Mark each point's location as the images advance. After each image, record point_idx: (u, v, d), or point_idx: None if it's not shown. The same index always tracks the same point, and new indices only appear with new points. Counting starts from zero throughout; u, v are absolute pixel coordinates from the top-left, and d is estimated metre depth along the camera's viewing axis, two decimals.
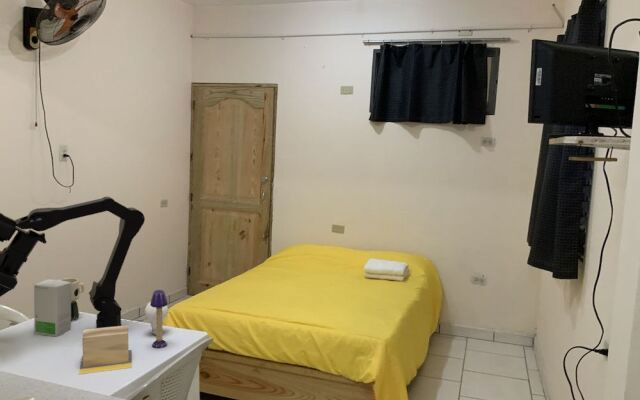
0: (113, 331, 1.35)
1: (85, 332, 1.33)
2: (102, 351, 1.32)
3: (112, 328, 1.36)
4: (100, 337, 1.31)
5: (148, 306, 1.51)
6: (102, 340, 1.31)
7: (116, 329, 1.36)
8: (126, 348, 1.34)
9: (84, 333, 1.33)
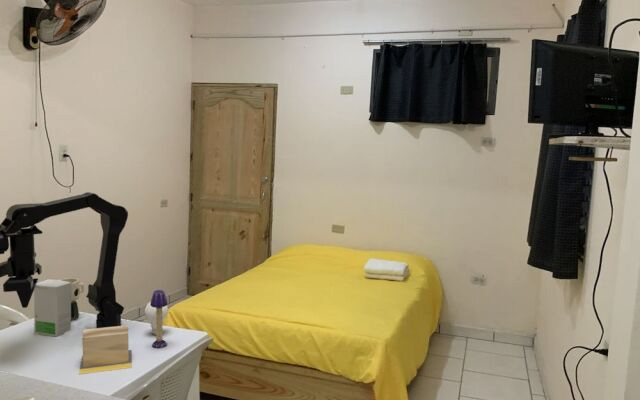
0: (113, 331, 1.35)
1: (85, 332, 1.33)
2: (102, 351, 1.32)
3: (112, 328, 1.36)
4: (100, 337, 1.31)
5: (148, 306, 1.51)
6: (102, 340, 1.31)
7: (116, 329, 1.36)
8: (126, 348, 1.34)
9: (84, 333, 1.33)
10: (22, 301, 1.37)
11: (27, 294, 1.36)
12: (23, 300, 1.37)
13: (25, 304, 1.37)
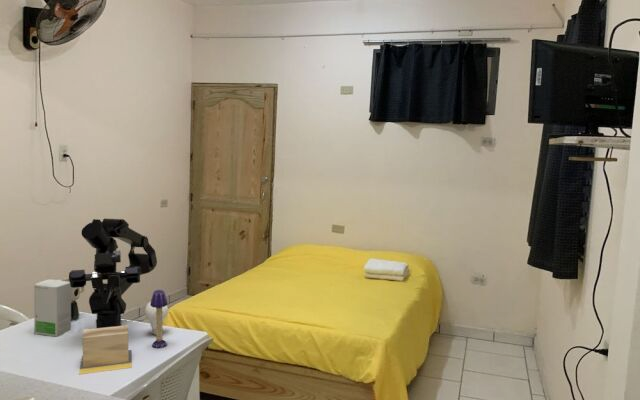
0: (113, 331, 1.35)
1: (85, 332, 1.33)
2: (102, 351, 1.32)
3: (112, 328, 1.36)
4: (100, 337, 1.31)
5: (148, 306, 1.51)
6: (102, 340, 1.31)
7: (116, 329, 1.36)
8: (126, 348, 1.34)
9: (84, 333, 1.33)
10: (108, 296, 1.43)
11: (111, 291, 1.45)
12: (108, 295, 1.43)
13: (107, 300, 1.43)
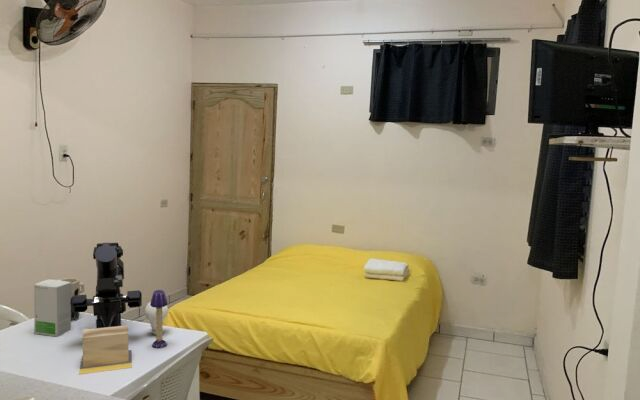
0: (113, 331, 1.35)
1: (85, 332, 1.33)
2: (102, 351, 1.32)
3: (112, 328, 1.36)
4: (100, 337, 1.31)
5: (148, 306, 1.51)
6: (102, 340, 1.31)
7: (116, 329, 1.36)
8: (126, 348, 1.34)
9: (84, 333, 1.33)
10: (110, 321, 1.42)
11: (112, 316, 1.44)
12: None
13: (109, 325, 1.42)
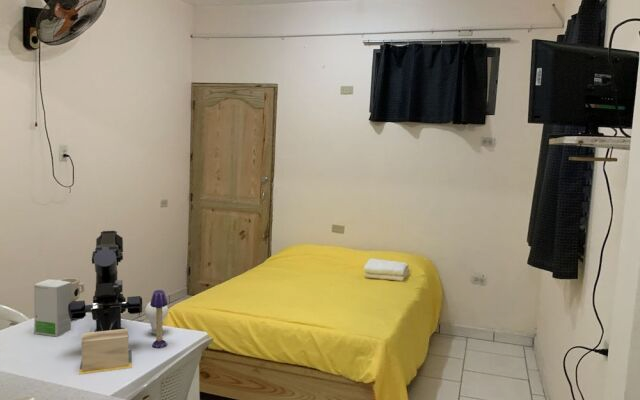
0: (113, 334, 1.32)
1: (84, 335, 1.31)
2: (101, 354, 1.29)
3: (112, 331, 1.34)
4: (99, 341, 1.29)
5: (148, 306, 1.51)
6: (101, 344, 1.29)
7: (116, 333, 1.33)
8: (126, 352, 1.31)
9: (83, 337, 1.30)
10: (110, 328, 1.36)
11: (112, 323, 1.39)
12: (109, 327, 1.37)
13: None
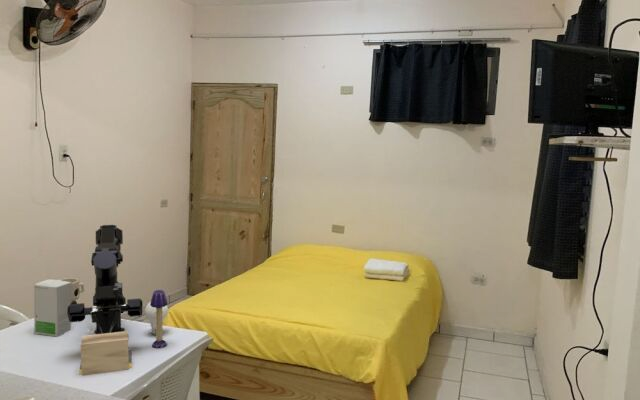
0: (113, 337, 1.31)
1: (83, 338, 1.29)
2: (101, 357, 1.28)
3: (112, 334, 1.32)
4: (99, 344, 1.27)
5: (148, 306, 1.51)
6: (101, 347, 1.27)
7: (116, 335, 1.32)
8: (126, 355, 1.30)
9: (83, 339, 1.28)
10: (109, 331, 1.35)
11: (112, 326, 1.37)
12: (109, 331, 1.35)
13: None
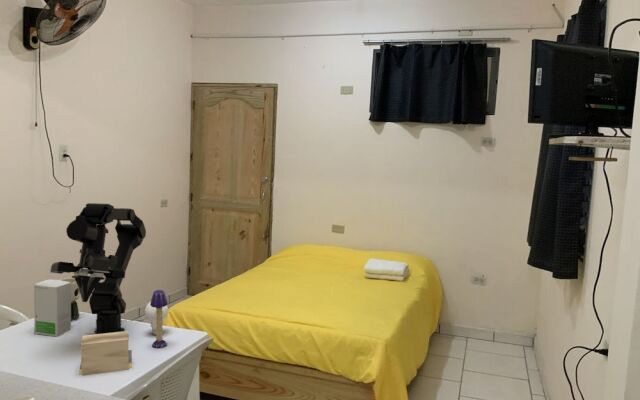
0: (113, 337, 1.31)
1: (83, 338, 1.29)
2: (101, 357, 1.28)
3: (112, 334, 1.32)
4: (99, 344, 1.27)
5: (148, 306, 1.51)
6: (101, 347, 1.27)
7: (116, 335, 1.32)
8: (126, 355, 1.30)
9: (83, 339, 1.28)
10: None
11: None
12: None
13: None
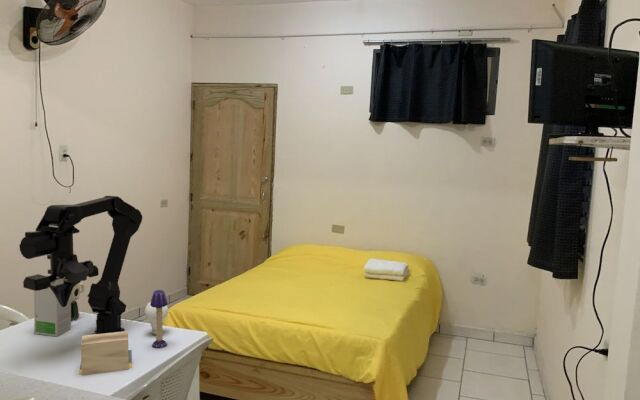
0: (113, 337, 1.31)
1: (83, 338, 1.29)
2: (101, 357, 1.28)
3: (112, 334, 1.32)
4: (99, 344, 1.27)
5: (148, 306, 1.51)
6: (101, 347, 1.27)
7: (116, 335, 1.32)
8: (126, 355, 1.30)
9: (83, 339, 1.28)
10: None
11: None
12: None
13: None
